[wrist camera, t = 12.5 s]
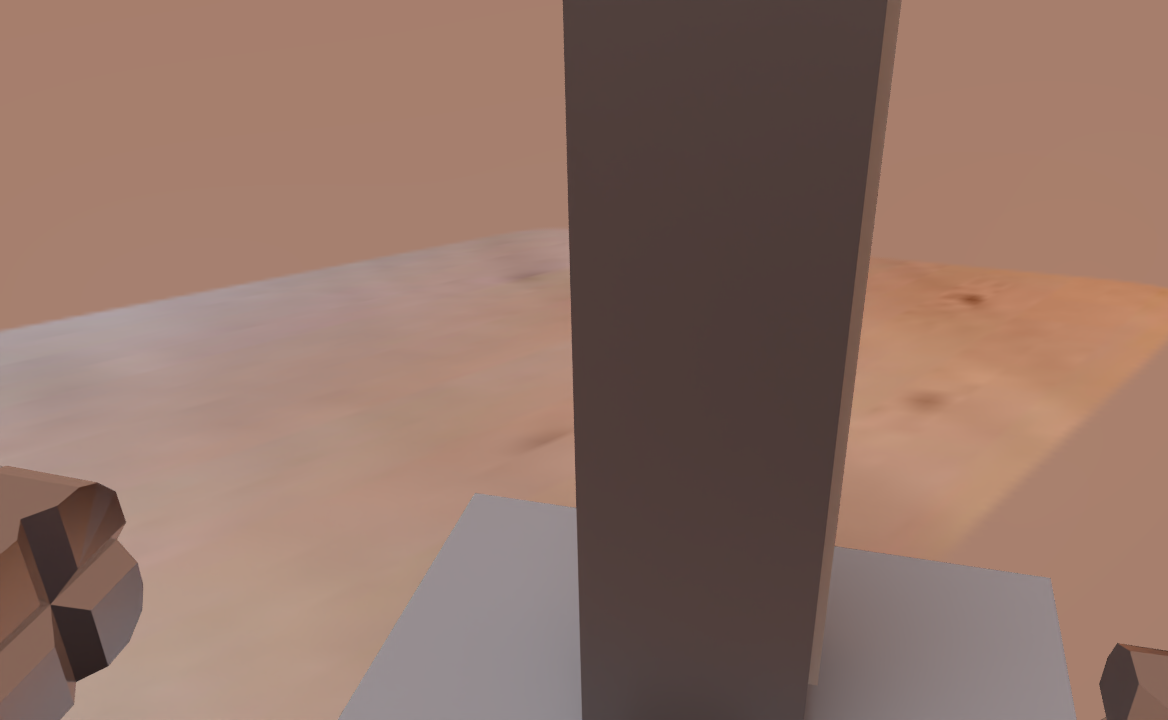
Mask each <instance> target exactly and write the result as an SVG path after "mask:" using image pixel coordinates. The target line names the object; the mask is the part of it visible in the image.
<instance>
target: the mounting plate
mask: <svg viewBox="0 0 1168 720" xmlns="http://www.w3.org/2000/svg"><path fill="white" fill-rule="evenodd" d="M338 720H582V699H581V662H580V624H579V587H578V549H577V512H576V508H573V507H566V506H560V505H553V504H546V503H539V502H533V501H526V500H519V499H512V498H506V497H499V496H492V495H485V494H478V493H475V494H474V496H473V497H472V499H471V500H470V502H469V504H468V505H467V507H466V509H465V510H464V512H463V514H462V515H461V517H460V519H459V520H458V522H457V524H456V525H455V527H454V529H453V530H452V532H451V534H450V535H449V537H448V538H447V540H446V542H445V543H444V545H443V547H442V548H441V550H440V552H439V553H438V555H437V557H436V558H435V560H434V562H433V563H432V565H431V567H430V568H429V570H428V572H427V573H426V575H425V576H424V578H423V580H422V581H421V583H420V585H419V586H418V588H417V590H416V591H415V593H414V595H413V596H412V598H411V600H410V601H409V603H408V605H407V606H406V608H405V610H404V611H403V613H402V614H401V616H400V618H399V619H398V621H397V623H396V624H395V626H394V628H393V629H392V631H391V633H390V634H389V636H388V638H387V639H386V641H385V643H384V644H383V646H382V648H381V649H380V651H379V652H378V654H377V656H376V657H375V659H374V661H373V662H372V664H371V666H370V667H369V669H368V671H367V672H366V674H365V676H364V677H363V679H362V681H361V682H360V684H359V686H358V687H357V689H356V690H355V692H354V694H353V695H352V697H351V699H350V700H349V702H348V704H347V705H346V707H345V709H344V710H343V712H342V714H341V715H340V717H339V719H338ZM804 720H1077V719H1076V714H1075V709H1074V703H1073V698H1072V692H1071V687H1070V682H1069V676H1068V671H1067V665H1066V660H1065V654H1064V649H1063V644H1062V638H1061V632H1060V627H1059V622H1058V617H1057V611H1056V605H1055V600H1054V595H1053V590H1052V584H1051V579H1050V578H1046V577H1039V576H1032V575H1025V574H1018V573H1012V572H1005V571H998V570H992V569H985V568H978V567H972V566H965V565H958V564H951V563H945V562H938V561H931V560H924V559H918V558H911V557H904V556H897V555H891V554H884V553H877V552H870V551H864V550H857V549H850V548H843V547H837V546H835V547H834V555H833V563H832V571H831V579H830V587H829V596H828V604H827V612H826V620H825V628H824V636H823V644H822V653H821V661H820V669H819V677H818V685H811V684H808V688H807V696H806V705H805V713H804Z"/></svg>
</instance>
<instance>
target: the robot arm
mask: <svg viewBox="0 0 1168 720" xmlns="http://www.w3.org/2000/svg"><path fill="white" fill-rule="evenodd" d="M125 523H126V521H125V518H124V515H123V512H122V509H121V506H120V503H119V500H118V497H117V494H116V492H115V491H113V490H111V489H109V488H107V487H105V486H103V485H101V484H99V483H97V482H92V481H86V480H81V479H75V478H70V477H64V476H59V475H54V474H48V473H43V472H37V471H32V470H27V469H21V468H16V467H10V466H4V467H2V466H0V720H60V719H61V718H62V717H63V716H64V715H65V714H66V713H67V712H68V710H69V709H70V708H71V707H72V706H73V705H74V699H75V688H76V682H77V681H79V680H81V679H83V678H85V677H87V676H89V675H91V674H93V673H95V672H97V671H99V670H101V669H103V668H105V667H107V666H109V665H110V664H111V662H112V661H113V660H114V659H115V658H116V657H117V655H118V654H119V653H120V652H121V651H122V650H123V648H124V647H125V646H126V645H127V644H128V643H129V641H130V639H131V636H132V634H133V631H134V629H135V626H136V624H137V622H138V619H139V617H140V614H141V612H142V602H143V582H142V578H141V574H140V571H139V567H138V563H137V562H136V560H135V559H134V558H133V557H132V556H131V555H130V554H129V553H128V551H127V550H126V549H125V548H124V547H123V546H122V545H121V544H120V543H119V541H118V540H117V538H118V537H119V535H120V533H121V531H122V529H123V527H124V525H125ZM1099 685H1100V690H1101V694H1102V699H1103V703H1104V708H1105V713H1106V717H1105V718H1103V719H1102V720H1168V651H1166V650H1159V649H1153V648H1146V647H1139V646H1133V645H1127V644H1120V643H1117V645H1116V646H1115V648H1114V649H1113V651H1112V652H1111V654H1110V655H1109V656H1108V658H1107V662H1106V665H1105V668H1104V671H1103V674H1102V677H1101V680H1100V684H1099Z"/></svg>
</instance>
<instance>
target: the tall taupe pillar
mask: <svg viewBox="0 0 1168 720" xmlns="http://www.w3.org/2000/svg"><path fill="white" fill-rule="evenodd" d="M900 9H901V0H563V22H564V61H565V97H566V136H567V170H568V171H567V173H568V211H569V249H570V286H571V324H572V361H573V399H574V436H575V474H576V512H577V549H578V587H579V624H580V662H581V699H582V720H804V713H805V705H806V696H807V688H808V684H811V685H818V677H819V669H820V661H821V653H822V644H823V636H824V628H825V620H826V612H827V604H828V596H829V587H830V579H831V571H832V563H833V555H834V547H835V539H836V530H837V522H838V514H839V506H840V498H841V490H842V481H843V473H844V465H845V457H846V449H847V441H848V433H849V424H850V416H851V408H852V400H853V392H854V384H855V376H856V367H857V359H858V351H859V343H860V335H861V327H862V318H863V310H864V302H865V294H866V286H867V278H868V270H869V261H870V253H871V244H872V237H873V229H874V220H875V212H876V204H877V196H878V187H879V180H880V171H881V163H882V155H883V147H884V139H885V131H886V123H887V115H888V107H889V98H890V90H891V82H892V74H893V65H894V58H895V49H896V41H897V33H898V24H899V17H900Z"/></svg>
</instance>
